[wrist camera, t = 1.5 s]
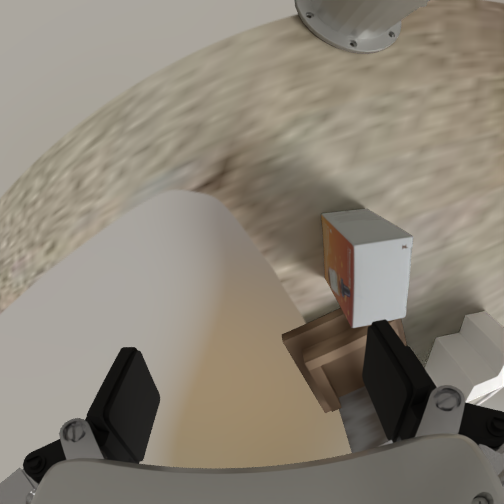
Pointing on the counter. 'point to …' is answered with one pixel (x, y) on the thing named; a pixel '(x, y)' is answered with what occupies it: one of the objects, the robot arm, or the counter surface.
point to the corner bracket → (470, 357)
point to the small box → (366, 265)
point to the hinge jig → (340, 373)
